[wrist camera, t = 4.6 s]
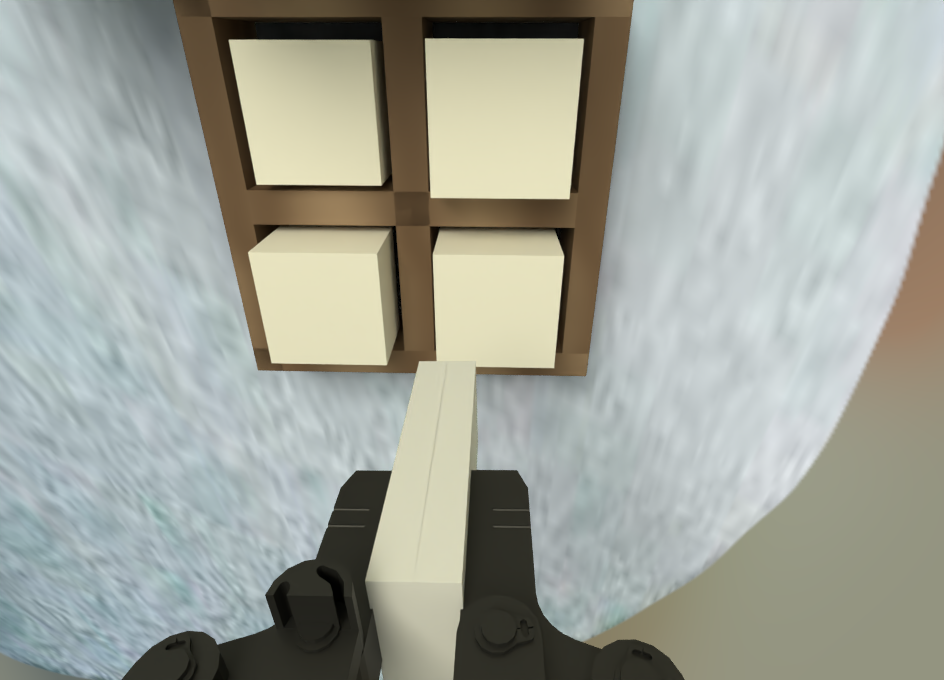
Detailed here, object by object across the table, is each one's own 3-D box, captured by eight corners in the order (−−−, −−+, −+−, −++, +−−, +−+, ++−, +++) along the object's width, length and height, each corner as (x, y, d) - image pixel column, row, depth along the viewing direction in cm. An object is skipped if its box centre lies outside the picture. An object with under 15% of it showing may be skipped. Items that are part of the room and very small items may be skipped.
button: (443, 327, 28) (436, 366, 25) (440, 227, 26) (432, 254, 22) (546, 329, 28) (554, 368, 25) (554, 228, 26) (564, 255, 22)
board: (285, 332, 33) (258, 370, 29) (218, -14, 24) (166, -26, 20) (574, 337, 32) (586, 376, 28) (612, -14, 24) (637, -27, 20)
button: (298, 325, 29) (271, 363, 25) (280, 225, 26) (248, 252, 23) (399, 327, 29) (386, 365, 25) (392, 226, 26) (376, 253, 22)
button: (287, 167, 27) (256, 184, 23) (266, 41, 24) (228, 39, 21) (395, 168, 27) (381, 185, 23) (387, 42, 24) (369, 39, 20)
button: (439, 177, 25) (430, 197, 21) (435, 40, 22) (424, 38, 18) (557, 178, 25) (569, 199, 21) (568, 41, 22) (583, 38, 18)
